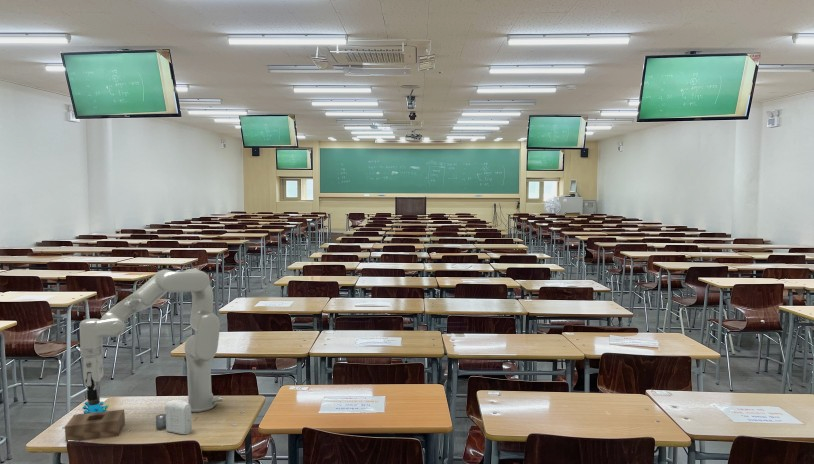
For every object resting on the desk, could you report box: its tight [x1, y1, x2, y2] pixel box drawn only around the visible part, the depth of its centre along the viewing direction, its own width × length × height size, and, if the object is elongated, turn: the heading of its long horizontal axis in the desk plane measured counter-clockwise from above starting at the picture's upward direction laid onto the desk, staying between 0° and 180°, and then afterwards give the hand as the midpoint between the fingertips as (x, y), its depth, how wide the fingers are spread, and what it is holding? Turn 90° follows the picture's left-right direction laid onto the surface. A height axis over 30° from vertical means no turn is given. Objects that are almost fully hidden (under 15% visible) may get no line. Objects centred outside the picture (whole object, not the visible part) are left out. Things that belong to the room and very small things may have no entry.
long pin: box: [87, 380, 101, 405], centre depth 221 cm, size 4×4×10 cm
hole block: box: [64, 408, 126, 442], centre depth 222 cm, size 18×12×6 cm, turn 106°
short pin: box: [155, 413, 166, 431], centre depth 226 cm, size 4×4×5 cm
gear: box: [82, 400, 110, 414], centre depth 238 cm, size 11×6×10 cm
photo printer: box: [165, 399, 193, 435], centre depth 222 cm, size 10×4×12 cm, turn 69°
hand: (93, 397), depth 221 cm, fingers closed on long pin, 4 cm apart
